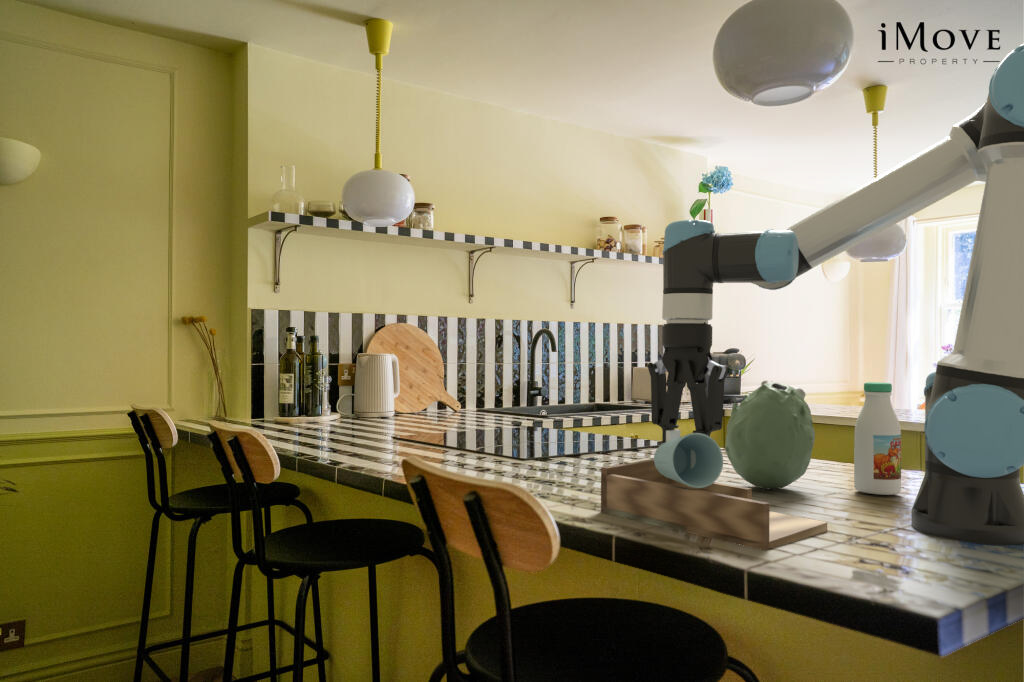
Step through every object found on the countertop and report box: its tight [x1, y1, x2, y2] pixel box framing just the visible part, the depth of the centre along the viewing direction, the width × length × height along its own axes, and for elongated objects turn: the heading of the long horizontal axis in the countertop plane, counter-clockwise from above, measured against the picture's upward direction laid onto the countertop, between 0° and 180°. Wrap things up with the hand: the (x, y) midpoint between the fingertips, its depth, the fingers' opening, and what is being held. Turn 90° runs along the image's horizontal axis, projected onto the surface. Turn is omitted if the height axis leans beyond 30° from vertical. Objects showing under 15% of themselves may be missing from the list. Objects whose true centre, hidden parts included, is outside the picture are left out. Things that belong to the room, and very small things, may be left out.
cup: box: [653, 432, 724, 488], centre depth 108 cm, size 8×8×10 cm
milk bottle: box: [853, 381, 902, 496], centre depth 134 cm, size 8×8×20 cm
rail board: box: [600, 457, 828, 551], centre depth 110 cm, size 28×17×8 cm, turn 41°
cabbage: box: [724, 379, 816, 490], centre depth 137 cm, size 16×19×20 cm
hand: (685, 473), depth 113 cm, fingers closed on cup, 4 cm apart
